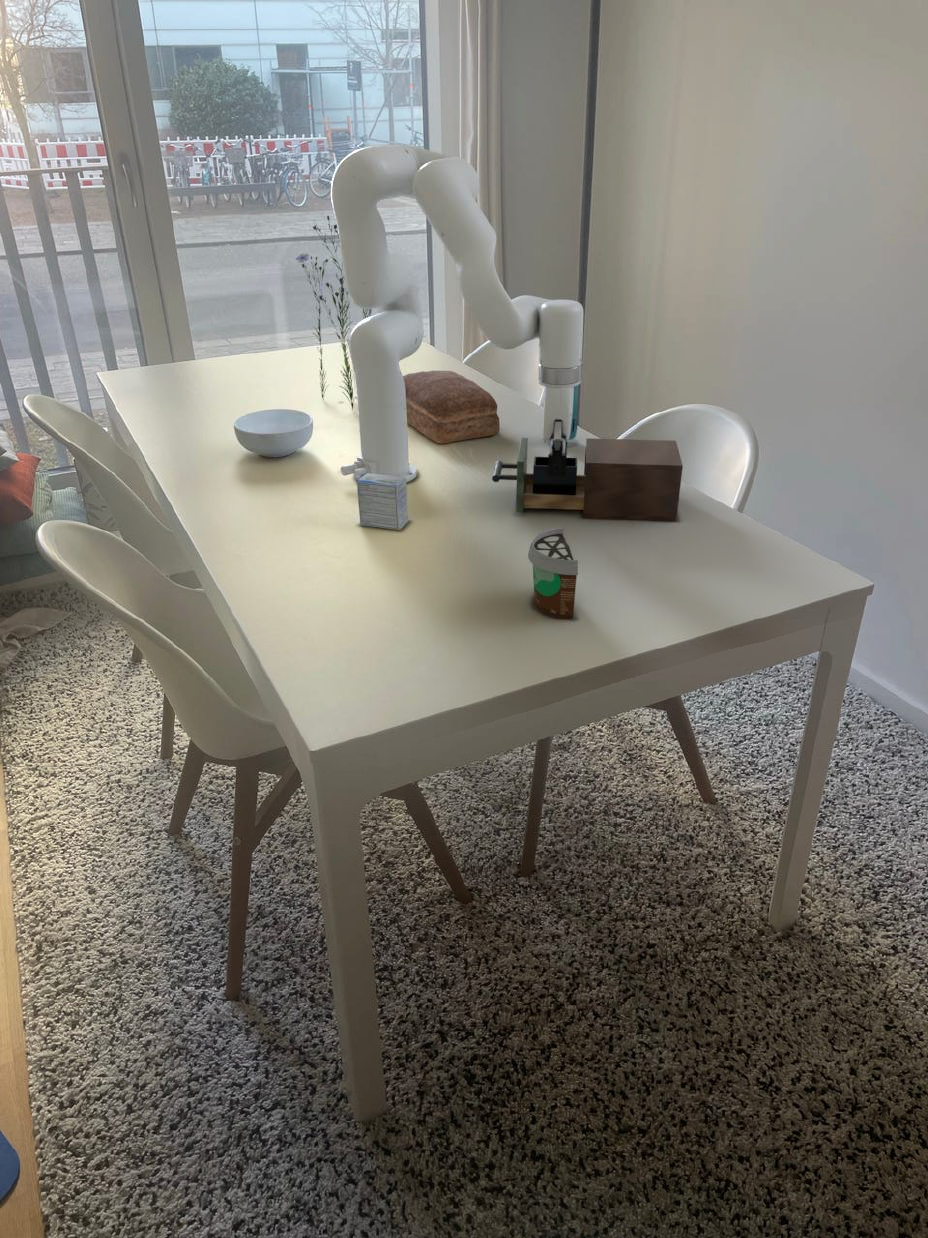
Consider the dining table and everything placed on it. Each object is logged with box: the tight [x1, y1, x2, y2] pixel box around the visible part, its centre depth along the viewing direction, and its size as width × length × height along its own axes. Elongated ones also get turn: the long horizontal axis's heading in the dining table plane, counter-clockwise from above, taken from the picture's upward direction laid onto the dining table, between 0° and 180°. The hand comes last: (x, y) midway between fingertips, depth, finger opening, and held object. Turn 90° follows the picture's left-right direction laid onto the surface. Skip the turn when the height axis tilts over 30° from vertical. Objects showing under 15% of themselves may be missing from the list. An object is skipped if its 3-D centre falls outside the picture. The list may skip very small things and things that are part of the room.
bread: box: [402, 370, 501, 444], centre depth 212 cm, size 17×29×11 cm, turn 26°
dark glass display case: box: [532, 456, 578, 495], centre depth 169 cm, size 8×5×6 cm, turn 84°
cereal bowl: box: [233, 408, 314, 458], centre depth 197 cm, size 17×17×7 cm
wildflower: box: [295, 215, 373, 411], centre depth 219 cm, size 22×23×45 cm
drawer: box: [491, 437, 586, 513], centre depth 169 cm, size 22×13×10 cm, turn 84°
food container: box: [527, 527, 579, 620], centre depth 135 cm, size 12×6×10 cm, turn 5°
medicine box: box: [356, 473, 409, 531], centre depth 162 cm, size 8×4×9 cm, turn 71°
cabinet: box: [582, 437, 684, 522], centre depth 168 cm, size 17×14×11 cm
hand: (557, 466), depth 168 cm, fingers open, 9 cm apart
